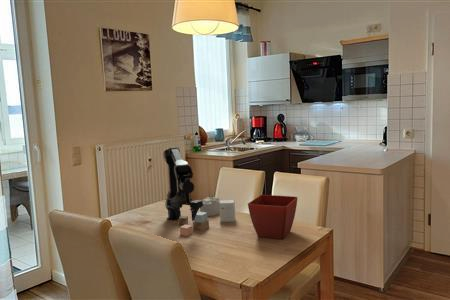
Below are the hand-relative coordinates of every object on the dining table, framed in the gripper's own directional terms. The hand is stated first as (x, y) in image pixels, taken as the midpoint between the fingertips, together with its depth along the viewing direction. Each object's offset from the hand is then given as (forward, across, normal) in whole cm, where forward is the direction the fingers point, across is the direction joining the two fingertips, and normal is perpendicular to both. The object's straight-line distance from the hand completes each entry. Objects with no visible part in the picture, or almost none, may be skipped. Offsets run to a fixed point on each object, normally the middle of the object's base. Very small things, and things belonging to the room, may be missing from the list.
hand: (185, 219), depth 196 cm
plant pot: (+8, +40, +17) cm, 44 cm away
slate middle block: (+4, +2, +10) cm, 11 cm away
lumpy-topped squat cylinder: (+8, -8, +36) cm, 38 cm away
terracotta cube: (+7, 0, 0) cm, 7 cm away
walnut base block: (+8, +2, +10) cm, 13 cm away
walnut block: (+7, -11, +12) cm, 18 cm away
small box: (+8, +8, +27) cm, 29 cm away
